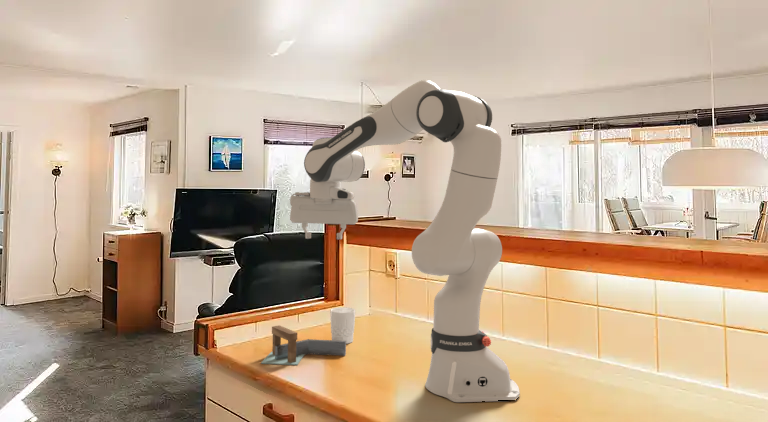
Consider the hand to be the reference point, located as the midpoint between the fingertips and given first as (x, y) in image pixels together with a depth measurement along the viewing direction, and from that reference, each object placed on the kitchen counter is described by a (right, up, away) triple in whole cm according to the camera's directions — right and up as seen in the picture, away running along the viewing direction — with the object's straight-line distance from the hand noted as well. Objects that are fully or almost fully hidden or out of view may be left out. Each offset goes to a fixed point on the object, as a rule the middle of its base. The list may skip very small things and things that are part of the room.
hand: (323, 238), depth 158 cm
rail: (-3, -33, -8) cm, 34 cm away
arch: (-10, -33, -10) cm, 36 cm away
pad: (-10, -33, -10) cm, 36 cm away
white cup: (+5, -33, +9) cm, 35 cm away
